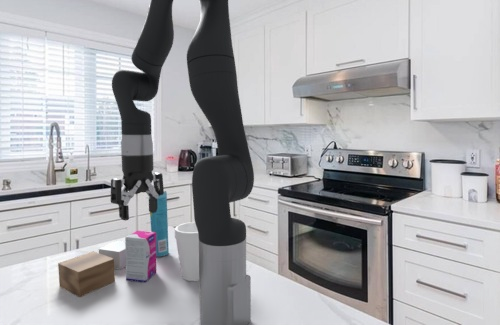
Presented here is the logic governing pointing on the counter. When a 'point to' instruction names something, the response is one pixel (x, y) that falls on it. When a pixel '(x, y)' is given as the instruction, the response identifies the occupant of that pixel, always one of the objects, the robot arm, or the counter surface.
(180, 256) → the foam cup
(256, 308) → the counter surface
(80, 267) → the walnut block
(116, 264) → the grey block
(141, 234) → the supplement box
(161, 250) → the tube
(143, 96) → the robot arm
